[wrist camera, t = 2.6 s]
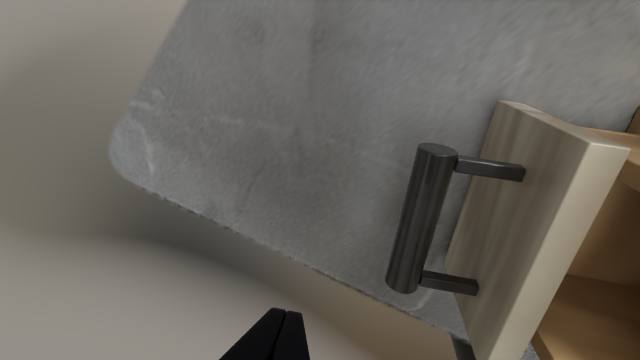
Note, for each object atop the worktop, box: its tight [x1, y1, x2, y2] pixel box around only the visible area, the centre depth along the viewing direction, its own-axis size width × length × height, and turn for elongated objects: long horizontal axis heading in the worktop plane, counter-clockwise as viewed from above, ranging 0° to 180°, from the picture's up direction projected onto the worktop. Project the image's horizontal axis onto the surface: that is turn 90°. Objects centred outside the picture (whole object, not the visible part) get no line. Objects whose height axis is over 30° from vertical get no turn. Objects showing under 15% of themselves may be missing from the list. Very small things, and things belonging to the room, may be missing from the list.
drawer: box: [385, 100, 640, 360], centre depth 15 cm, size 17×10×8 cm, turn 83°
